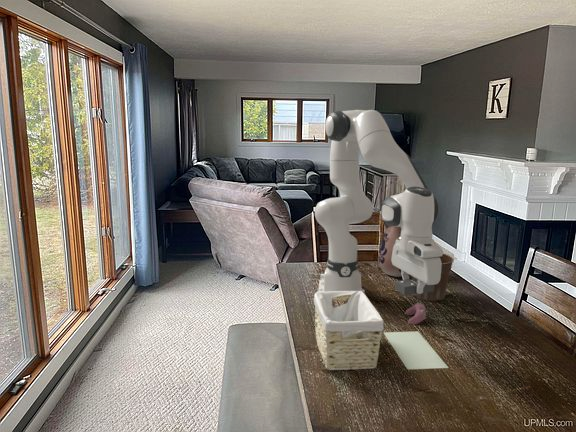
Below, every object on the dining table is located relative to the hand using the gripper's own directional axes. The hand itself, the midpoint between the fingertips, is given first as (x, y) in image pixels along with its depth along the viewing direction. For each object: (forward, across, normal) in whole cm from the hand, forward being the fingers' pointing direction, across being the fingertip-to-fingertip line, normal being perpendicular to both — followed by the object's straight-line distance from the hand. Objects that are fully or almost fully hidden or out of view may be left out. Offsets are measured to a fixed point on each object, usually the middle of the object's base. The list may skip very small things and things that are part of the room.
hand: (412, 289), depth 129 cm
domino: (-1, 0, +6) cm, 6 cm away
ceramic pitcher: (+18, -60, +34) cm, 71 cm away
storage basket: (+18, -2, -20) cm, 27 cm away
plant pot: (+18, -33, +30) cm, 48 cm away
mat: (+18, +3, 0) cm, 18 cm away
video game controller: (+18, -15, +12) cm, 27 cm away
